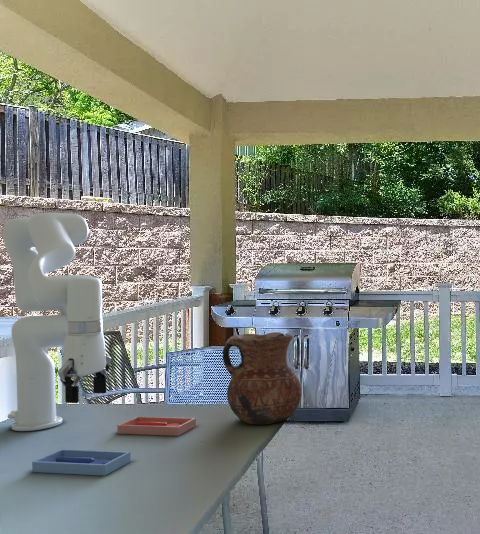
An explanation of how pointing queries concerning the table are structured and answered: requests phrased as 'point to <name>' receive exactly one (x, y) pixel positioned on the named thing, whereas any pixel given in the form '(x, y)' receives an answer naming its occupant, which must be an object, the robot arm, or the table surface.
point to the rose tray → (131, 428)
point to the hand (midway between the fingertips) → (86, 397)
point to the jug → (262, 379)
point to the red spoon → (156, 424)
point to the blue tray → (51, 466)
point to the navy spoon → (81, 460)
